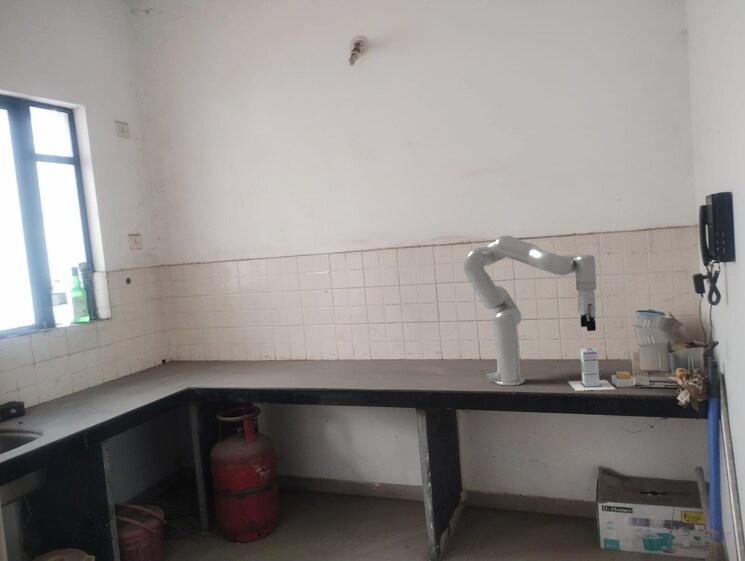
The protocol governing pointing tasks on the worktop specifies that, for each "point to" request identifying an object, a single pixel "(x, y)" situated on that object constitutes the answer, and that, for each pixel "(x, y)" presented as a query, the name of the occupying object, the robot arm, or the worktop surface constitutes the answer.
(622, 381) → the button housing
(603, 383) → the white square panel
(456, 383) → the worktop surface
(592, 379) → the syrup box
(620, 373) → the button
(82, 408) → the worktop surface
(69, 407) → the worktop surface
